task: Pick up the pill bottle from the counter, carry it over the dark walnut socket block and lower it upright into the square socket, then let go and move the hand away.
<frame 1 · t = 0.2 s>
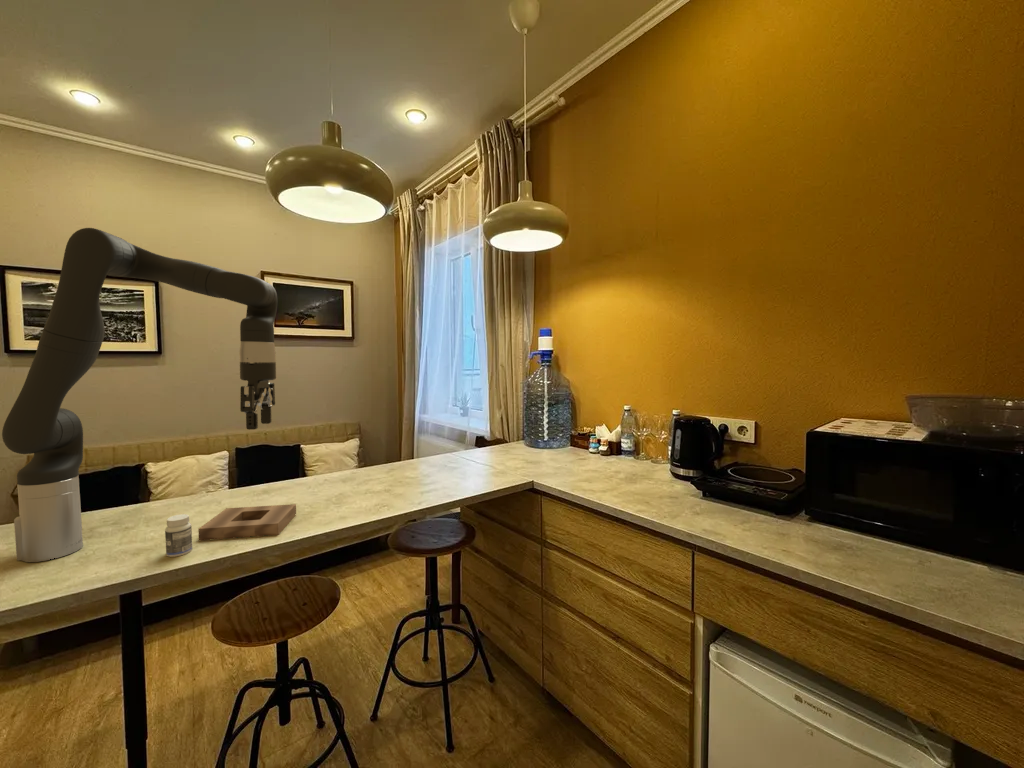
hand: (259, 426, 100), 28 cm above the breakfast bar, tool pointing down, fingers open, 8 cm apart
pill bottle: (179, 553, 94), on the breakfast bar
socket block: (251, 526, 108), on the breakfast bar
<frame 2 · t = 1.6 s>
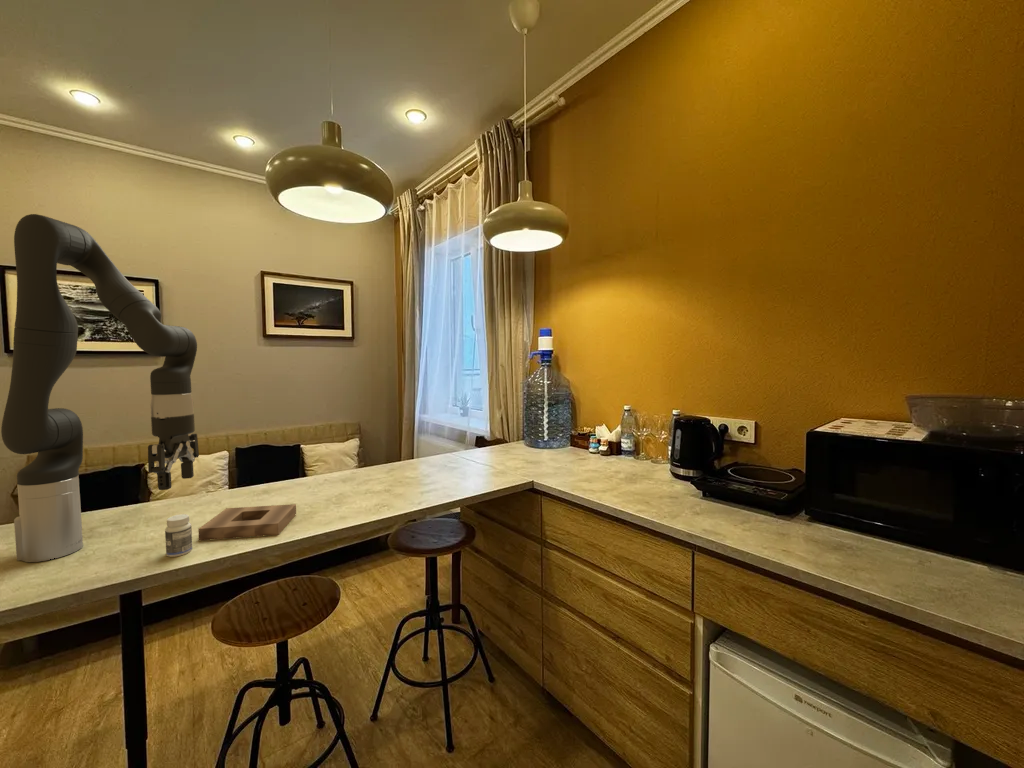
hand: (176, 483, 93), 16 cm above the breakfast bar, tool pointing down, fingers open, 8 cm apart
nothing on the breakfast bar moved.
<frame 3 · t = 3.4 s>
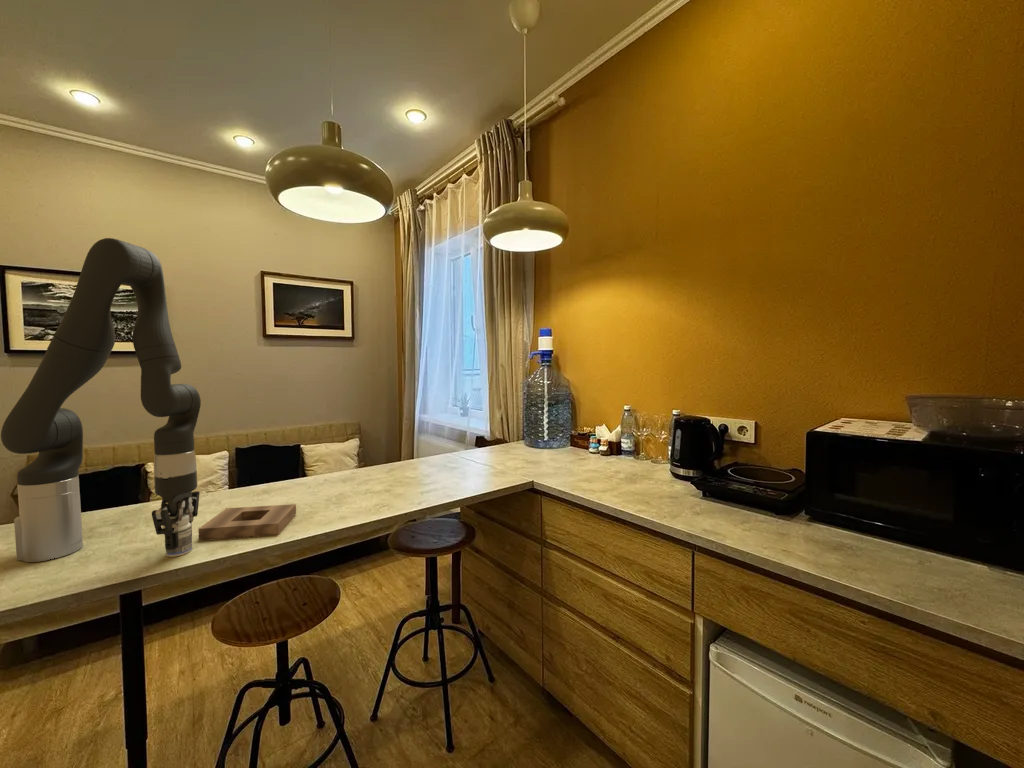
hand: (179, 543, 94), 2 cm above the breakfast bar, tool pointing down, fingers closed on pill bottle, 4 cm apart
pill bottle: (179, 553, 94), on the breakfast bar, touching gripper
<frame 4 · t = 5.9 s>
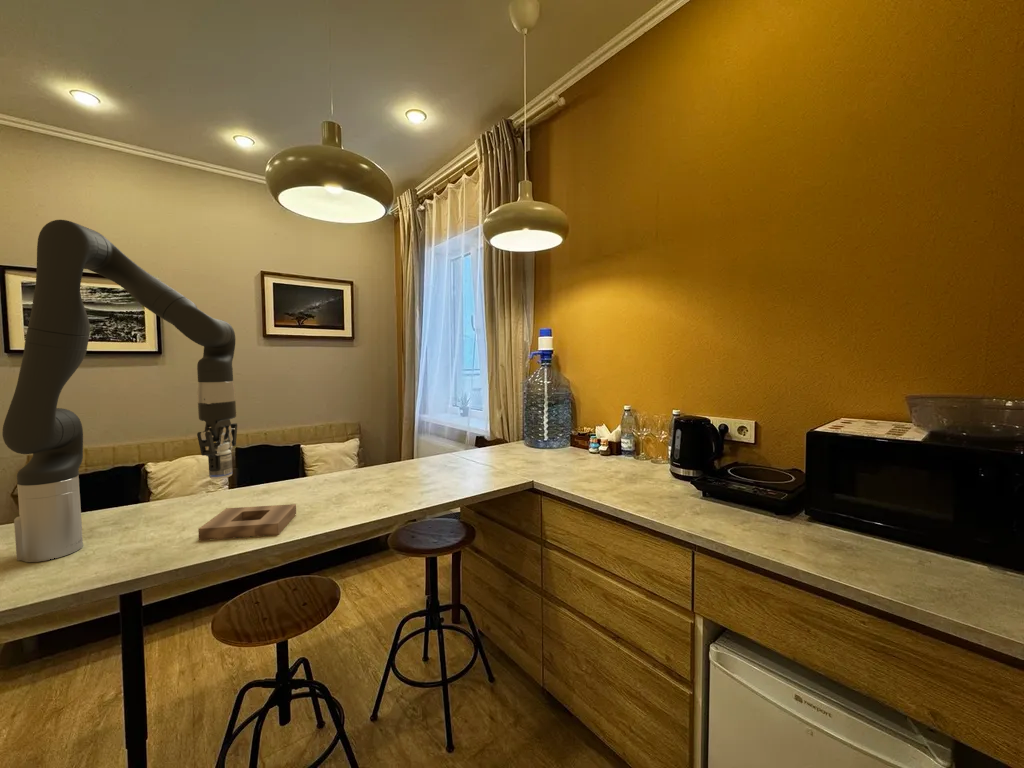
hand: (220, 467, 100), 18 cm above the breakfast bar, tool pointing down, fingers closed on pill bottle, 4 cm apart
pill bottle: (221, 477, 101), point 15 cm above the breakfast bar, touching gripper
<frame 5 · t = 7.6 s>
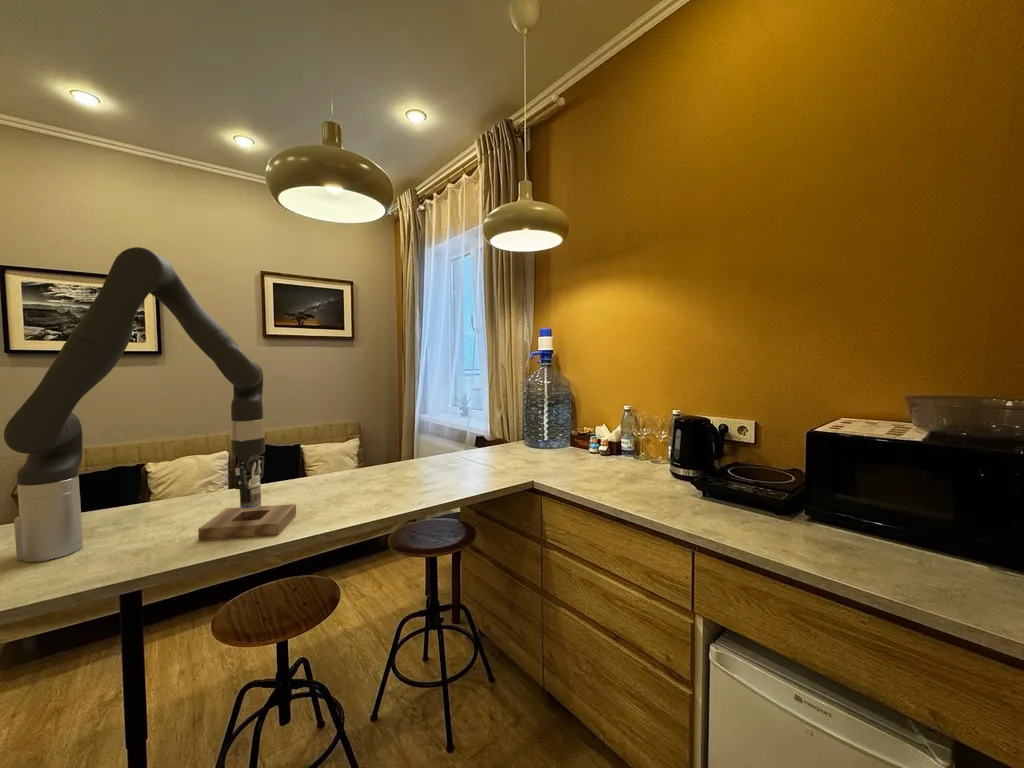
hand: (250, 499, 108), 7 cm above the breakfast bar, tool pointing down, fingers closed on pill bottle, 4 cm apart
pill bottle: (250, 507, 108), point 5 cm above the breakfast bar, touching gripper
when the fingers open (4 cm above the breakfast bar, at t = 8.7 s): pill bottle drops 1 cm, resting on socket block.
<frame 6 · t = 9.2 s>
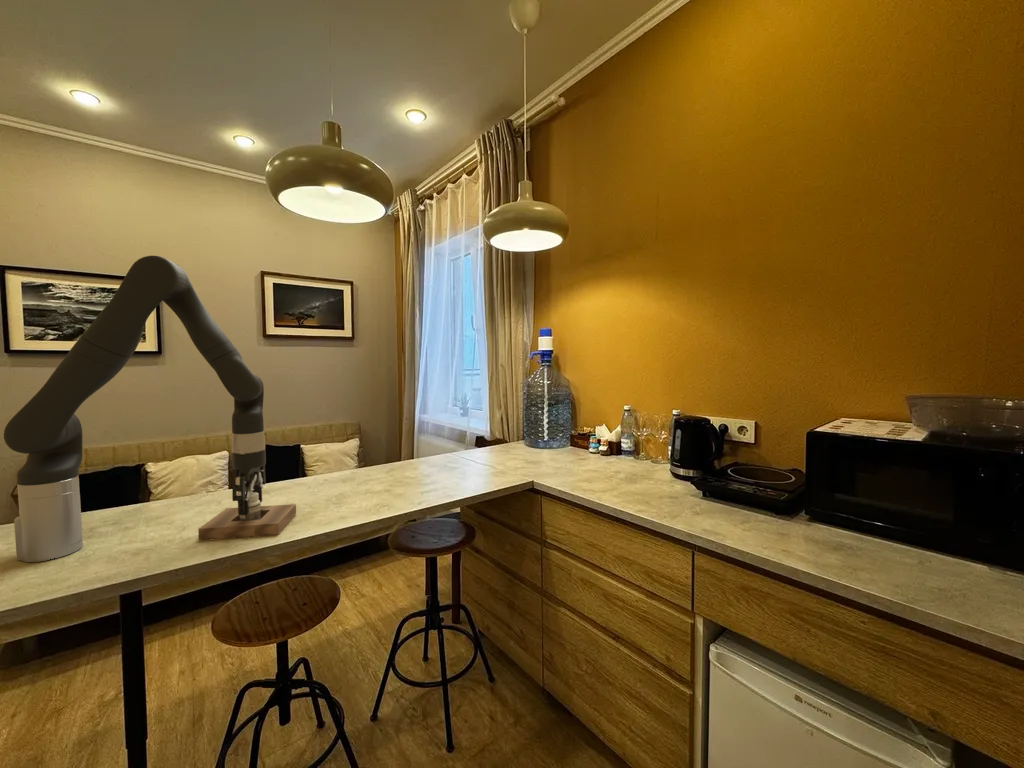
hand: (250, 508, 108), 5 cm above the breakfast bar, tool pointing down, fingers open, 8 cm apart
pill bottle: (250, 525, 108), resting on socket block
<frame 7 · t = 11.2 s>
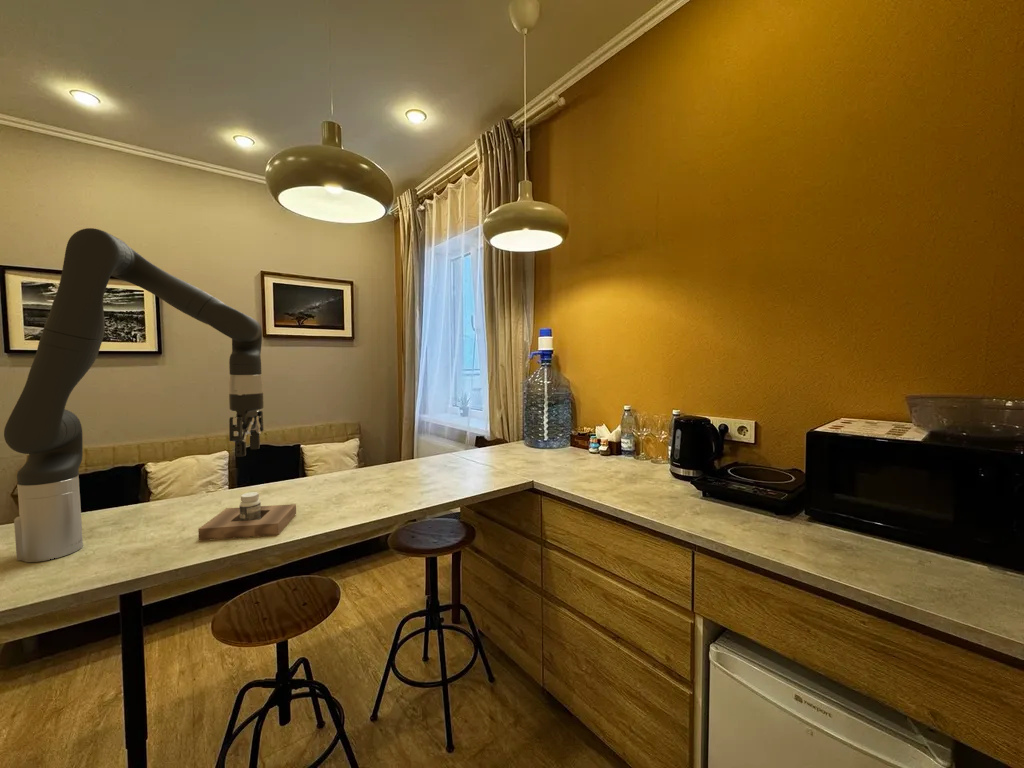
hand: (248, 452, 107), 20 cm above the breakfast bar, tool pointing down, fingers open, 8 cm apart
nothing on the breakfast bar moved.
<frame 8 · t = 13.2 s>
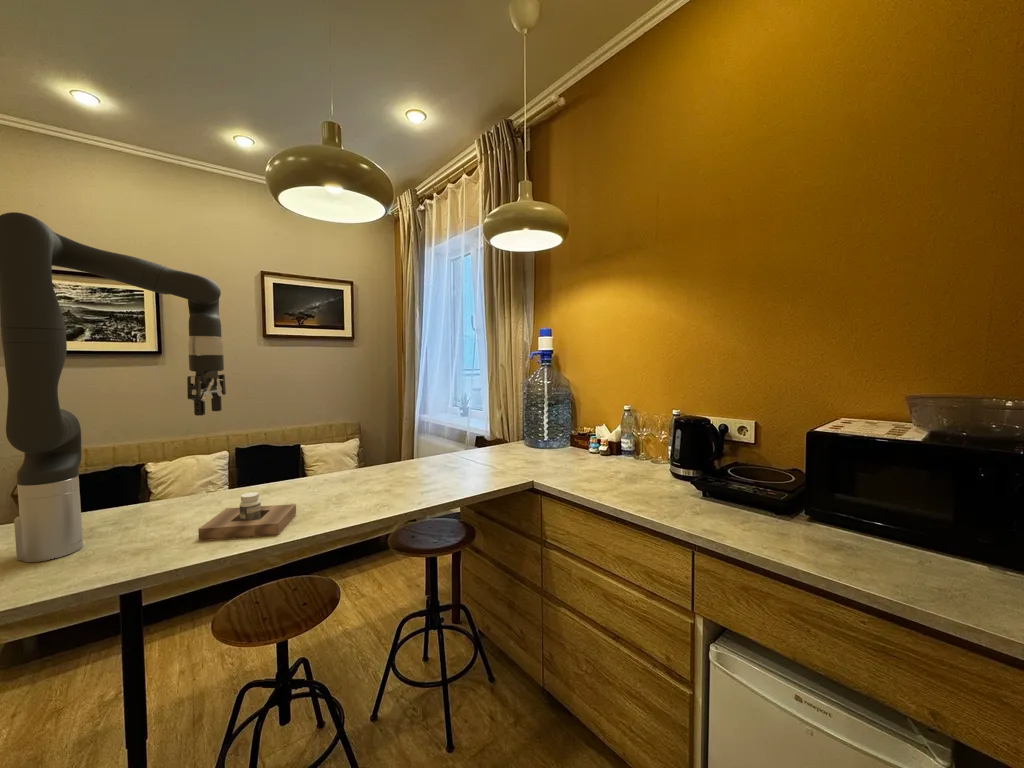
hand: (208, 413, 110), 30 cm above the breakfast bar, tool pointing down, fingers open, 8 cm apart
nothing on the breakfast bar moved.
at the end: pill bottle 0.1 cm off-centre on the socket block, point 0.2 cm above the socket block's base; pill bottle tilted 0°; the gripper is holding nothing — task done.
